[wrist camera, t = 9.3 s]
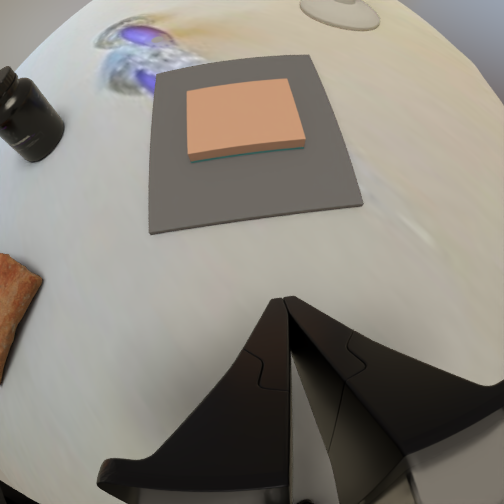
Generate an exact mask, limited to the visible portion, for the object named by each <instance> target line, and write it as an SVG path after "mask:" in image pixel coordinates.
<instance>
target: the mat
mask: <svg viewBox="0 0 504 504" xmlns="http://www.w3.org/2000/svg"><path fill="white" fill-rule="evenodd" d="M272 79H287V80H288V83H289V86H290V89H291V92H292V95H293V98H294V101H295V105H296V108H297V111H298V114H299V118H300V121H301V124H302V128H303V131H304V135H305V138H306V140H305V145H304V149H295V150H284V151H275V152H266V153H257V154H249V155H242V156H235V157H228V158H221V159H215V160H208V161H202V162H196V163H191V161H190V159H189V156H188V148H187V91H191V90H196V89H201V88H207V87H213V86H220V85H227V84H234V83H242V82H251V81H261V80H272ZM363 204H364V203H363V200H362V196H361V193H360V189H359V186H358V183H357V179H356V176H355V173H354V170H353V166H352V163H351V160H350V157H349V154H348V151H347V148H346V145H345V142H344V140H343V137H342V134H341V131H340V128H339V126H338V123H337V120H336V118H335V115H334V112H333V110H332V107H331V105H330V102H329V100H328V97H327V95H326V92H325V90H324V87H323V85H322V83H321V80H320V78H319V76H318V73H317V71H316V69H315V67H314V64H313V62H312V60H311V58H310V56H309V55H283V56H267V57H255V58H245V59H236V60H228V61H221V62H215V63H208V64H202V65H197V66H191V67H186V68H181V69H177V70H172V71H168V72H163V73H159V74H156V83H155V92H154V102H153V113H152V125H151V141H150V161H149V233H150V234H151V235H152V234H158V233H164V232H170V231H177V230H183V229H190V228H196V227H203V226H209V225H216V224H223V223H230V222H237V221H244V220H252V219H259V218H266V217H274V216H282V215H290V214H298V213H306V212H314V211H322V210H331V209H340V208H349V207H358V206H362V205H363Z"/></svg>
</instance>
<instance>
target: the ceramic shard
mask: <svg viewBox="0 0 504 504" xmlns="http://www.w3.org/2000/svg"><path fill="white" fill-rule="evenodd" d="M41 283H42V278H41V277H40V276H38V275H36V274H34V273H32V272H30V271H29V270H27V269H26V267H25V266H22V265H21V264H20V263H18V262H16V261H15V260H14V259H13V258H11V257H10V256H9V254H3V253H0V384H1V379H2V373H3V368H4V365H5V361H6V358H7V355H8V352H9V349H10V346H11V344H12V342H13V340H14V335H15V330H16V327H17V325H18V323H19V322H20V321H21V319H22V317H23V315H24V313H25V312H26V310H27V308H28V306H29V304H30V302H31V300H32V299H33V297H34V295H35V294H36V292H37V290H38V289H39V287H40V286H41Z"/></svg>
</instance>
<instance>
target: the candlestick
mask: <svg viewBox="0 0 504 504" xmlns="http://www.w3.org/2000/svg"><path fill="white" fill-rule="evenodd" d="M300 8H301V10H302V11H303V12H304V13H305V14H306V15H308V16H309V17H311V18H313V19H314V20H317V21H319V22H321V23H324V24H327V25H330V26H333V27H337V28H341V29H347V30H354V31H369V30H373V29H375V28H377V27H378V26H379V23H380V17H379V15H378V14H377V13H376V11H375V10H374V9H373V8H372V7H371V6H369V5H368V4H366V3H365V2H363V1H361V0H301V1H300Z"/></svg>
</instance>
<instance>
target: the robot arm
mask: <svg viewBox="0 0 504 504" xmlns="http://www.w3.org/2000/svg"><path fill="white" fill-rule="evenodd" d="M291 354H292V357H293V360H294V363H295V365H296V368H297V371H298V374H299V376H300V379H301V382H302V384H303V387H304V390H305V393H306V395H307V398H308V401H309V404H310V406H311V409H312V412H313V415H314V417H315V420H316V423H317V425H318V428H319V431H320V434H321V436H322V439H323V442H324V445H325V447H326V450H327V453H328V456H329V458H330V462H331V465H332V469H333V473H334V478H335V483H336V488H337V493H338V499H339V504H504V380H502V381H500V382H499V383H497V384H495V385H492V386H483V385H479V384H476V383H474V382H471V381H469V380H466V379H463V378H461V377H458V376H456V375H453V374H451V373H448V372H446V371H443V370H441V369H438V368H436V367H434V366H431V365H429V364H426V363H424V362H421V361H419V360H417V359H414V358H412V357H409V356H407V355H405V354H402V353H400V352H397V351H395V350H393V349H390V348H388V347H386V346H384V345H381V344H379V343H377V342H375V341H373V340H371V339H369V338H367V337H365V336H364V335H362V334H360V333H358V332H357V331H354V330H352V329H351V328H349V327H347V326H345V325H344V324H342V323H340V322H338V321H337V320H335V319H333V318H332V317H330V316H328V315H326V314H325V313H323V312H321V311H319V310H318V309H316V308H314V307H313V306H311V305H309V304H308V303H306V302H304V301H302V300H301V299H299V298H297V297H296V296H288V297H284V298H283V299H282V298H274V299H271V300H270V302H269V304H268V305H267V307H266V309H265V311H264V312H263V314H262V316H261V318H260V319H259V321H258V323H257V325H256V326H255V328H254V330H253V332H252V333H251V335H250V337H249V339H248V340H247V342H246V344H245V345H244V347H243V349H242V350H241V352H240V353H239V355H238V357H237V358H236V360H235V361H234V363H233V364H232V366H231V367H230V369H229V370H228V371H227V372H226V374H225V375H224V376H223V377H222V379H221V380H220V381H219V382H218V383H217V384H216V386H215V387H214V388H213V389H212V390H211V391H210V392H209V394H208V395H207V396H206V397H205V398H204V399H203V401H202V402H201V403H200V404H199V405H198V406H197V407H196V408H195V410H194V411H193V412H192V413H191V414H190V415H189V416H188V417H187V419H186V420H185V421H184V422H183V423H182V424H181V425H180V426H179V427H178V428H177V430H176V431H175V432H174V433H173V434H172V435H171V436H170V437H169V438H168V439H167V440H166V441H165V442H164V444H163V445H162V446H161V447H160V448H159V449H158V450H157V451H156V452H155V453H154V454H153V455H151V456H149V457H147V458H145V459H141V460H131V459H122V458H110V459H106V460H105V461H104V462H103V463H102V465H101V467H100V471H99V473H98V477H97V486H98V487H99V488H100V489H102V490H103V491H105V492H107V493H109V494H110V495H112V496H114V497H116V498H118V499H120V500H122V501H124V502H125V503H127V504H292V487H293V429H292V375H291ZM0 504H39V503H37V502H35V501H34V500H32V499H30V498H28V497H26V496H25V495H24V494H22V493H20V492H18V491H17V490H15V489H13V488H12V487H10V486H9V485H7V484H5V483H4V482H2V481H1V480H0ZM298 504H314V503H313V502H312V501H310V500H303V501H301V502H299V503H298Z"/></svg>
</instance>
